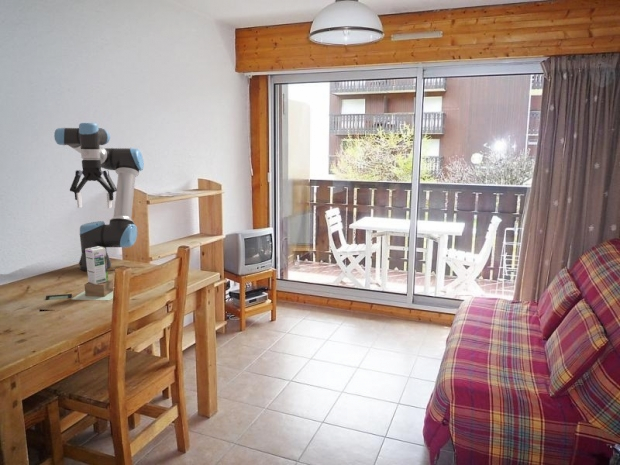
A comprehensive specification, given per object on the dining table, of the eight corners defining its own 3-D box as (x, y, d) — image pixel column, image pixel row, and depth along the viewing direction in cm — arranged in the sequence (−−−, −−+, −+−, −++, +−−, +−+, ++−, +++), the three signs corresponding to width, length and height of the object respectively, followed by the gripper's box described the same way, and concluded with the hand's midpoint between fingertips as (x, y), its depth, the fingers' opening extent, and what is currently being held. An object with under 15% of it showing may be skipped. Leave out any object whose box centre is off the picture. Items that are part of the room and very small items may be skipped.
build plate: (91, 290, 208) (90, 287, 208) (127, 291, 207) (126, 288, 207) (70, 302, 193) (70, 299, 192) (109, 303, 192) (109, 300, 191)
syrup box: (95, 284, 195) (92, 250, 192) (87, 282, 198) (84, 248, 195) (108, 281, 199) (105, 247, 196) (100, 279, 203) (98, 245, 200)
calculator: (39, 312, 183) (38, 304, 182) (47, 302, 194) (46, 295, 193) (66, 310, 185) (65, 302, 185) (72, 300, 196) (72, 293, 196)
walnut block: (95, 290, 204) (94, 278, 203) (113, 290, 203) (112, 279, 202) (85, 296, 196) (84, 284, 195) (104, 296, 196) (103, 285, 195)
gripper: (58, 159, 205) (63, 208, 209) (115, 159, 204) (118, 209, 208) (68, 158, 213) (72, 206, 217) (122, 159, 211) (126, 206, 215)
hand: (95, 207), depth 212 cm, fingers open, 13 cm apart
